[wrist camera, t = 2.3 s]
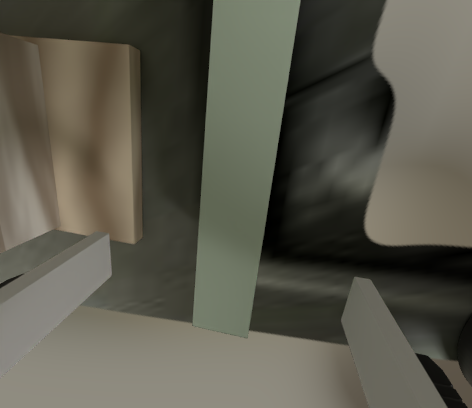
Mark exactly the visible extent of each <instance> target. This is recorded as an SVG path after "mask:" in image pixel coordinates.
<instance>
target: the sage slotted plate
mask: <svg viewBox="0 0 472 408" xmlns="http://www.w3.org/2000/svg"><path fill="white" fill-rule="evenodd" d="M299 6H300V0H213V15H212V31H211V46H210V61H209V77H208V92H207V108H206V123H205V139H204V154H203V170H202V185H201V201H200V216H199V232H198V247H197V263H196V278H195V294H194V309H193V326H195V327H199V328H204V329H208V330H212V331H217V332H221V333H226V334H230V335H235V336H239V337H244V338H248V332H249V326H250V319H251V313H252V306H253V300H254V294H255V287H256V281H257V274H258V268H259V262H260V255H261V249H262V243H263V236H264V230H265V223H266V217H267V211H268V204H269V198H270V191H271V185H272V179H273V172H274V166H275V160H276V153H277V147H278V140H279V134H280V128H281V121H282V115H283V109H284V102H285V96H286V89H287V83H288V77H289V70H290V64H291V57H292V51H293V45H294V38H295V32H296V26H297V19H298V13H299Z"/></svg>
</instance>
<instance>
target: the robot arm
mask: <svg viewBox="0 0 472 408" xmlns="http://www.w3.org/2000/svg"><path fill="white" fill-rule="evenodd" d="M111 276H112V268H111V254H110V239H109V233H104V232H98V231H96V232H94V233H93V234H91V235H89V236H87V237H86V238H84V239H82V240H81V241H79V242H77V243H76V244H74V245H72V246H71V247H69V248H67V249H66V250H64V251H62V252H61V253H59V254H57V255H56V256H54V257H52V258H51V259H49V260H47V261H46V262H44V263H42V264H41V265H39V266H37V267H35V268H34V269H32V270H30V271H29V272H27V273H25V274H21V275H19V276H16V277H13V278H11V279H8V280H6V281H5V282H3V283H1V284H0V378H1V377H2V376H3V375H4V374H5V373H7V372H8V371H9V370H10V369H11V368H12V367H13V366H14V365H15V364H16V363H17V362H19V361H20V360H21V359H22V358H23V357H24V356H25V355H26V354H27V353H28V352H29V351H30V350H32V349H33V347H35V346H36V345H37V344H38V343H39V342H40V341H41V340H42V339H43V338H45V337H46V336H47V335H48V334H49V333H50V332H51V331H52V330H53V329H54V328H55V327H56V326H58V325H59V324H60V323H61V322H62V321H63V320H64V319H65V318H66V317H67V316H68V315H69V314H71V313H72V312H73V311H74V310H75V309H76V308H77V307H78V306H79V305H80V304H81V303H83V302H84V301H85V300H86V299H87V298H88V297H89V296H90V295H91V294H92V293H93V292H95V291H96V290H97V289H98V288H99V287H100V286H101V285H102V284H103V283H104V282H105V281H106V280H108V279H109V278H110V277H111ZM341 323H342V326H343V329H344V332H345V335H346V338H347V341H348V344H349V347H350V350H351V354H352V357H353V360H354V363H355V366H356V369H357V372H358V375H359V378H360V381H361V384H362V388H363V391H364V393H365V397H366V400H367V403H368V406H369V408H467V406H466V405H465V403H463V402H462V399H461V397H460V396H459V394H458V393H457V391H456V390H455V389H453V385H452V384H451V382H450V381H449V379H448V378H447V376H446V375H445V373H444V372H443V370H442V369H441V368H440V367H439V366H438V365H437V364H435V362H433V361H432V360H431V359H430V358H429V357H428V356H426V355H422V354H417V353H414V351H413V349H412V348H411V346H410V344H409V343H408V341H407V339H406V338H405V336H404V334H403V333H402V331H401V329H400V328H399V326H398V324H397V323H396V321H395V319H394V318H393V316H392V314H391V313H390V311H389V309H388V308H387V306H386V304H385V303H384V301H383V299H382V298H381V296H380V294H379V293H378V291H377V289H376V288H375V286H374V284H373V283H372V281H371V279H365V278H360V277H354V279H353V282H352V286H351V289H350V292H349V295H348V299H347V302H346V305H345V308H344V312H343V315H342V318H341ZM457 355H458V362H459V365H460V369H461V371H462V373H463V375H464V377H465V378H466V380H467V381H468V382H469V384H470V385H471V386H472V316H471V318H470V319H469V320H468V322H467V323H466V325H465V327H464V328H463V331H462V333H461V335H460V338H459V342H458V349H457Z"/></svg>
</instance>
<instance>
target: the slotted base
mask: <svg viewBox="0 0 472 408" xmlns="http://www.w3.org/2000/svg"><path fill="white" fill-rule="evenodd" d="M53 229H55V230H60V231H66V232H71V233H76V234H82V235H87V236H89V235H91V234H93V233H94V232H96V231H98V232H104V233H109V239H110V240H114V241H119V242H124V243H130V244H135V243H136V242H138V241H139V240H140V239H141V238H143V220H142V147H141V74H140V50H138V49H136V48H134V47H133V46H131V45H128V44H115V43H102V42H89V41H76V40H63V39H49V38H36V37H23V36H10V35H6V34H3V33H1V32H0V253H2V252H4V251H6V250H9V249H11V248H13V247H15V246H18V245H20V244H22V243H24V242H26V241H29V240H31V239H33V238H35V237H38V236H40V235H42V234H44V233H46V232H49V231H51V230H53Z"/></svg>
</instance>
